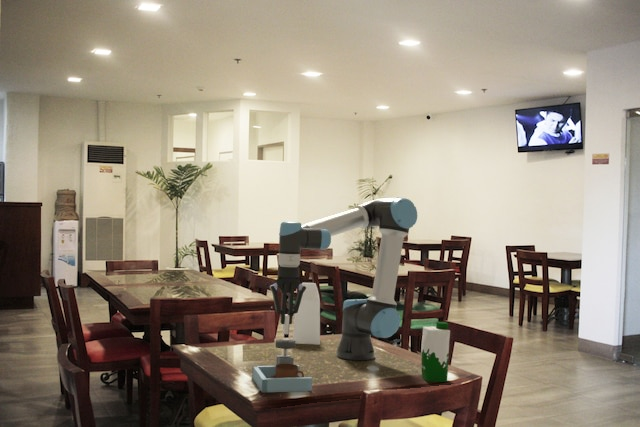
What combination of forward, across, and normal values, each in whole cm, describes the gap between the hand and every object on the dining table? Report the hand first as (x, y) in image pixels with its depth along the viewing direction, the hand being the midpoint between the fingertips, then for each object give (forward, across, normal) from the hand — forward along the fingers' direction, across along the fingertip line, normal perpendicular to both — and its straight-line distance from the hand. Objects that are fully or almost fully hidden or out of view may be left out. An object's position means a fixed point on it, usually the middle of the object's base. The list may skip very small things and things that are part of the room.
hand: (285, 333), depth 220 cm
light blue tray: (+14, -4, -10) cm, 18 cm away
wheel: (+8, 0, 0) cm, 8 cm away
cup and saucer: (+15, -2, -13) cm, 20 cm away
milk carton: (+14, +51, -13) cm, 55 cm away
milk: (+14, +23, +57) cm, 63 cm away
